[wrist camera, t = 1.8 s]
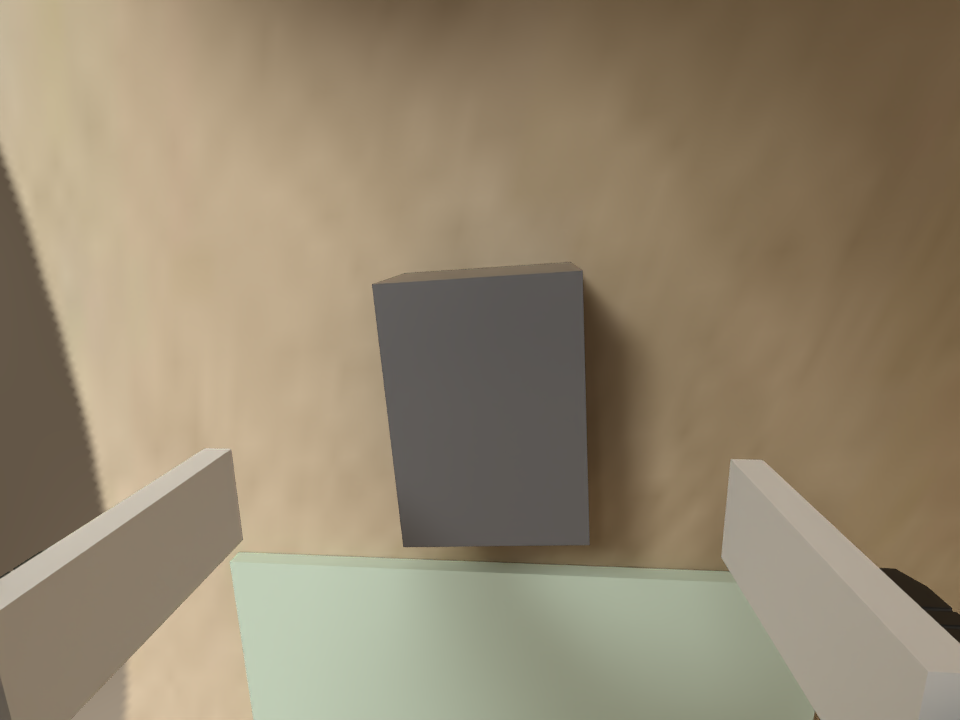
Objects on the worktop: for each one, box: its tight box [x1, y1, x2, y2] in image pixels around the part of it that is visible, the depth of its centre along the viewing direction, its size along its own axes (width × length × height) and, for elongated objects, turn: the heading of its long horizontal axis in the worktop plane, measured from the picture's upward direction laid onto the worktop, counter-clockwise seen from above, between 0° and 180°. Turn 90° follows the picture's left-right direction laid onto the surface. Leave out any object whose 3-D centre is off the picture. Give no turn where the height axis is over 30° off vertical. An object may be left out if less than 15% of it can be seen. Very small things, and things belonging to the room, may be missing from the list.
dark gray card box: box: [372, 262, 590, 547], centre depth 21 cm, size 10×7×5 cm
